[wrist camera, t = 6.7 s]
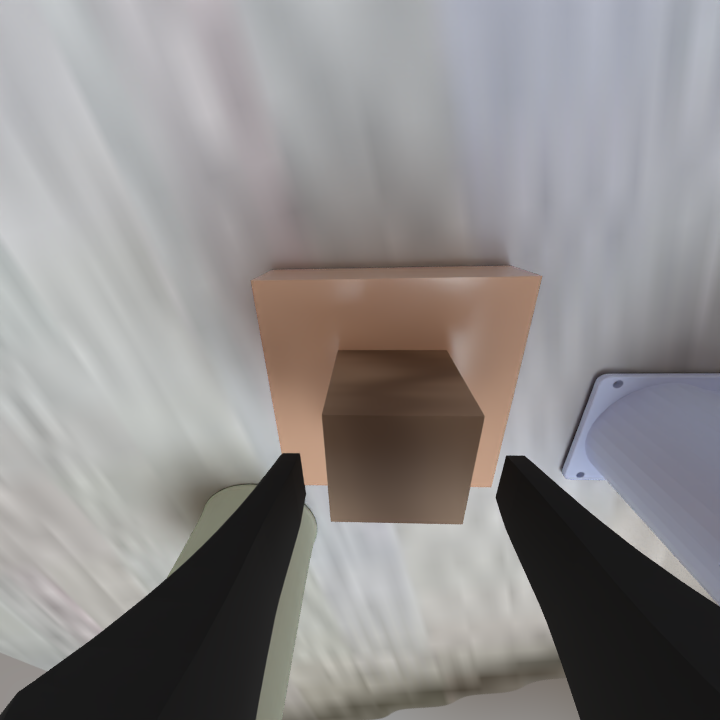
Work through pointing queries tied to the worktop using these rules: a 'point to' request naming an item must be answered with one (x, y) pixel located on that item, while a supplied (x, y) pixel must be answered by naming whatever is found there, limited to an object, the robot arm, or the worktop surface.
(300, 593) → the can
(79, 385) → the worktop surface
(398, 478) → the walnut cube
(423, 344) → the tan rectangular block
